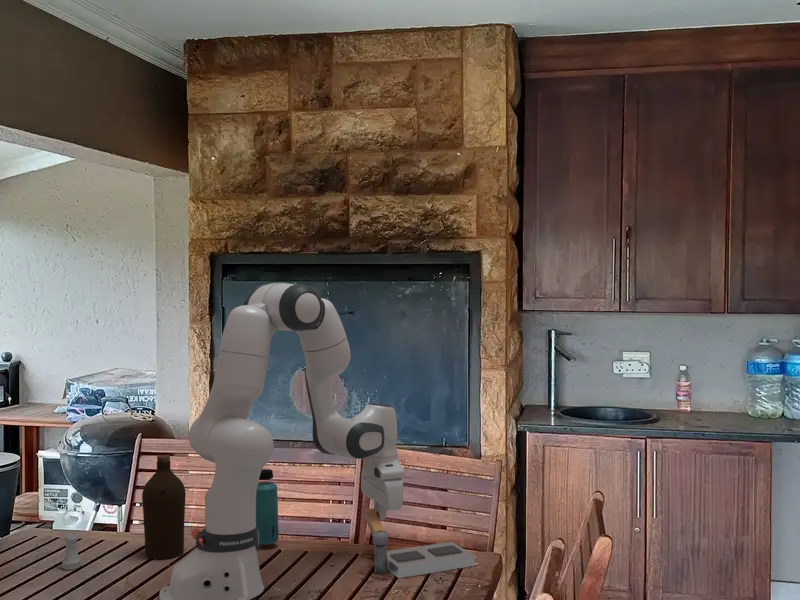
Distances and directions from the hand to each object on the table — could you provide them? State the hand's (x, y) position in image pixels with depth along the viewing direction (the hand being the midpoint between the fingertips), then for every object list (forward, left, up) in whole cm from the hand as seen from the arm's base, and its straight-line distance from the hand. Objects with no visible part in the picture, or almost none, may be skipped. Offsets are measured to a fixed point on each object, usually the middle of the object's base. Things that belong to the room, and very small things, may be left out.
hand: (380, 519), depth 211 cm
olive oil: (-51, +19, -8) cm, 56 cm away
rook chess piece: (-73, +18, -8) cm, 76 cm away
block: (+4, -16, -8) cm, 18 cm away
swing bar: (-4, -6, -1) cm, 7 cm away
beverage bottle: (-26, +14, -8) cm, 31 cm away
